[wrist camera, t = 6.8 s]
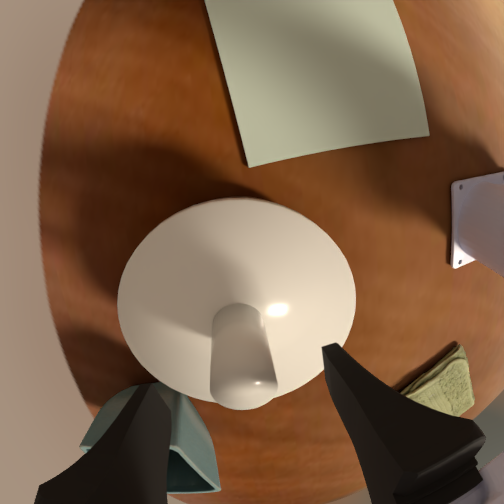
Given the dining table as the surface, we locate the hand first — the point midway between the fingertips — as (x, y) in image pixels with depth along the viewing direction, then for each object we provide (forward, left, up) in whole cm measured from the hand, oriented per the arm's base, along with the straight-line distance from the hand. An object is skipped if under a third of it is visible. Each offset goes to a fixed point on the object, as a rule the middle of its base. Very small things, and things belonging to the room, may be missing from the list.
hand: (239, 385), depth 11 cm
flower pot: (+10, +11, -11) cm, 18 cm away
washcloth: (-20, +26, -11) cm, 35 cm away
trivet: (-10, -14, -10) cm, 20 cm away
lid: (0, 0, -4) cm, 5 cm away
